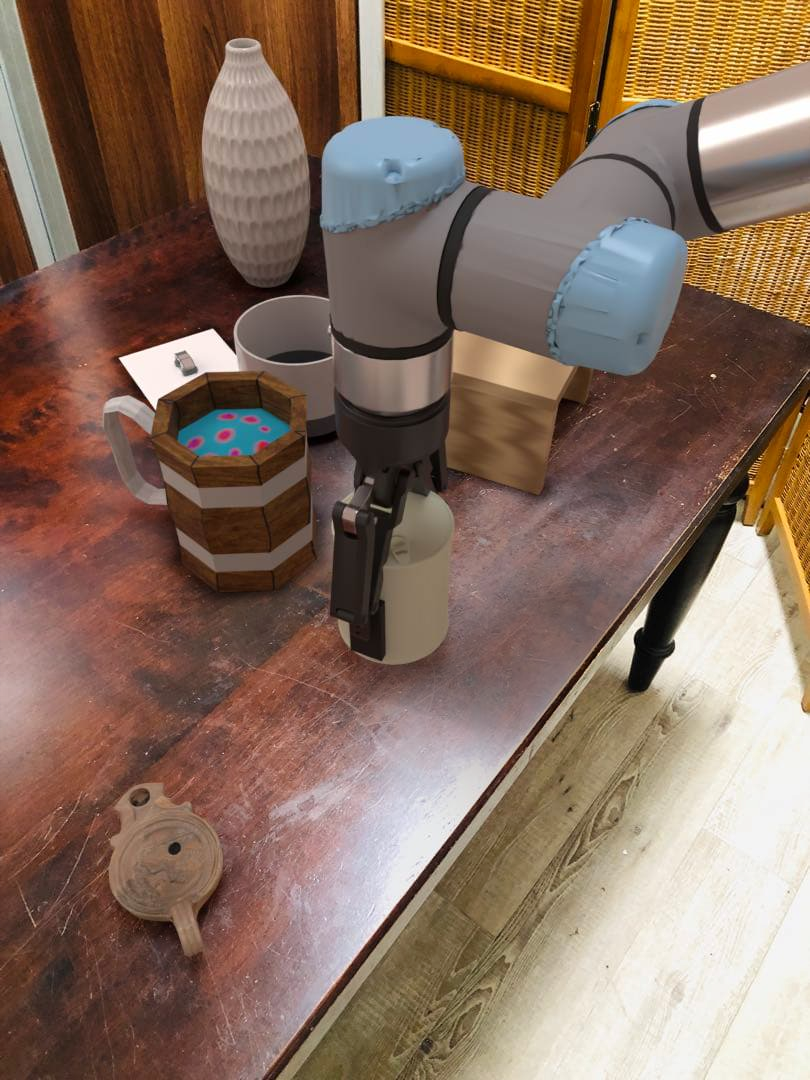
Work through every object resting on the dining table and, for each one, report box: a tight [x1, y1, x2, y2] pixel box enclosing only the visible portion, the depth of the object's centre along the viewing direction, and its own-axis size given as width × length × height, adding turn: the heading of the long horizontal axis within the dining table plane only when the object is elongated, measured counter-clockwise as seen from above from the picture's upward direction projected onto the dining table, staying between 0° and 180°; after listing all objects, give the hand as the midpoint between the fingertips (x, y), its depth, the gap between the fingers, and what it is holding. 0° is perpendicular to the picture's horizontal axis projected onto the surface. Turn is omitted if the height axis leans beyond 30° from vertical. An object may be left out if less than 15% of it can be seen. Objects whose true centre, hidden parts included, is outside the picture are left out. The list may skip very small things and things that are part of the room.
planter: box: [233, 294, 336, 439], centre depth 94 cm, size 13×13×10 cm
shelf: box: [445, 330, 595, 496], centre depth 92 cm, size 16×18×12 cm
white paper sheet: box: [118, 328, 239, 411], centre depth 102 cm, size 12×12×2 cm
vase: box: [201, 37, 311, 289], centre depth 107 cm, size 13×13×28 cm
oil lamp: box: [108, 782, 224, 958], centre depth 59 cm, size 13×8×5 cm, turn 25°
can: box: [330, 491, 456, 666], centre depth 69 cm, size 9×9×12 cm
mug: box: [101, 371, 318, 593], centre depth 79 cm, size 20×14×15 cm
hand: (393, 609), depth 72 cm, fingers closed on can, 9 cm apart
